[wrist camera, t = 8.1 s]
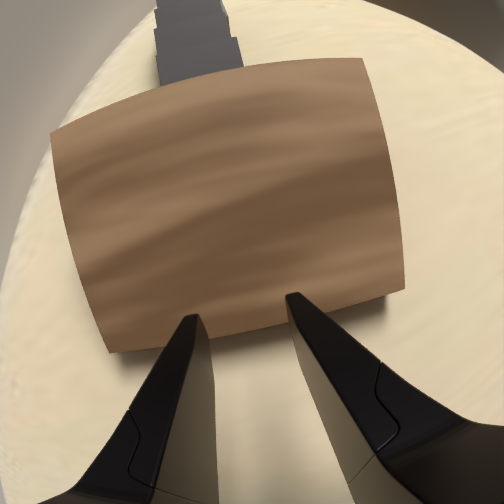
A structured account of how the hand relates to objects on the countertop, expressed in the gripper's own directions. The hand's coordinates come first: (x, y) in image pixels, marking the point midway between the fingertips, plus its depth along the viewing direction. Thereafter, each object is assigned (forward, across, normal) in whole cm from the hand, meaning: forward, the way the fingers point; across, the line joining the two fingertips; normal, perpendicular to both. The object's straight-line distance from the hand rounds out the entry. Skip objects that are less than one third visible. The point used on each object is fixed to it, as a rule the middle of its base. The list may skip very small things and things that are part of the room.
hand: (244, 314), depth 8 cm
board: (+4, 0, +5) cm, 7 cm away
